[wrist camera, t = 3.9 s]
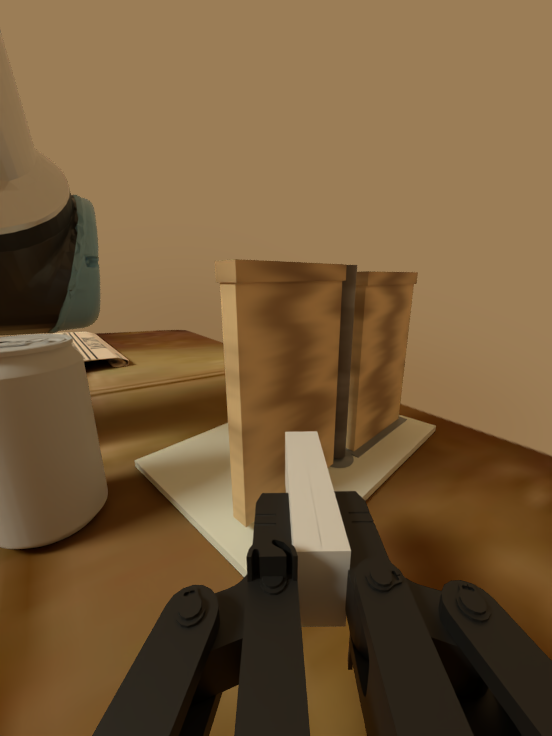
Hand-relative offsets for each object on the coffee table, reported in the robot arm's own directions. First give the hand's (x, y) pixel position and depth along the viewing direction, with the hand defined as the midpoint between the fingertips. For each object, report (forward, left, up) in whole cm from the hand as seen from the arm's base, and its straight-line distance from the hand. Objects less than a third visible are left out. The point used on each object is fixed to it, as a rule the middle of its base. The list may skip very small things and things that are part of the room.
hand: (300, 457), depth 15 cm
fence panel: (-4, +5, -6) cm, 9 cm away
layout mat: (-8, +10, -7) cm, 14 cm away
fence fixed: (-4, +16, -6) cm, 18 cm away
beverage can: (-14, -8, -7) cm, 18 cm away
